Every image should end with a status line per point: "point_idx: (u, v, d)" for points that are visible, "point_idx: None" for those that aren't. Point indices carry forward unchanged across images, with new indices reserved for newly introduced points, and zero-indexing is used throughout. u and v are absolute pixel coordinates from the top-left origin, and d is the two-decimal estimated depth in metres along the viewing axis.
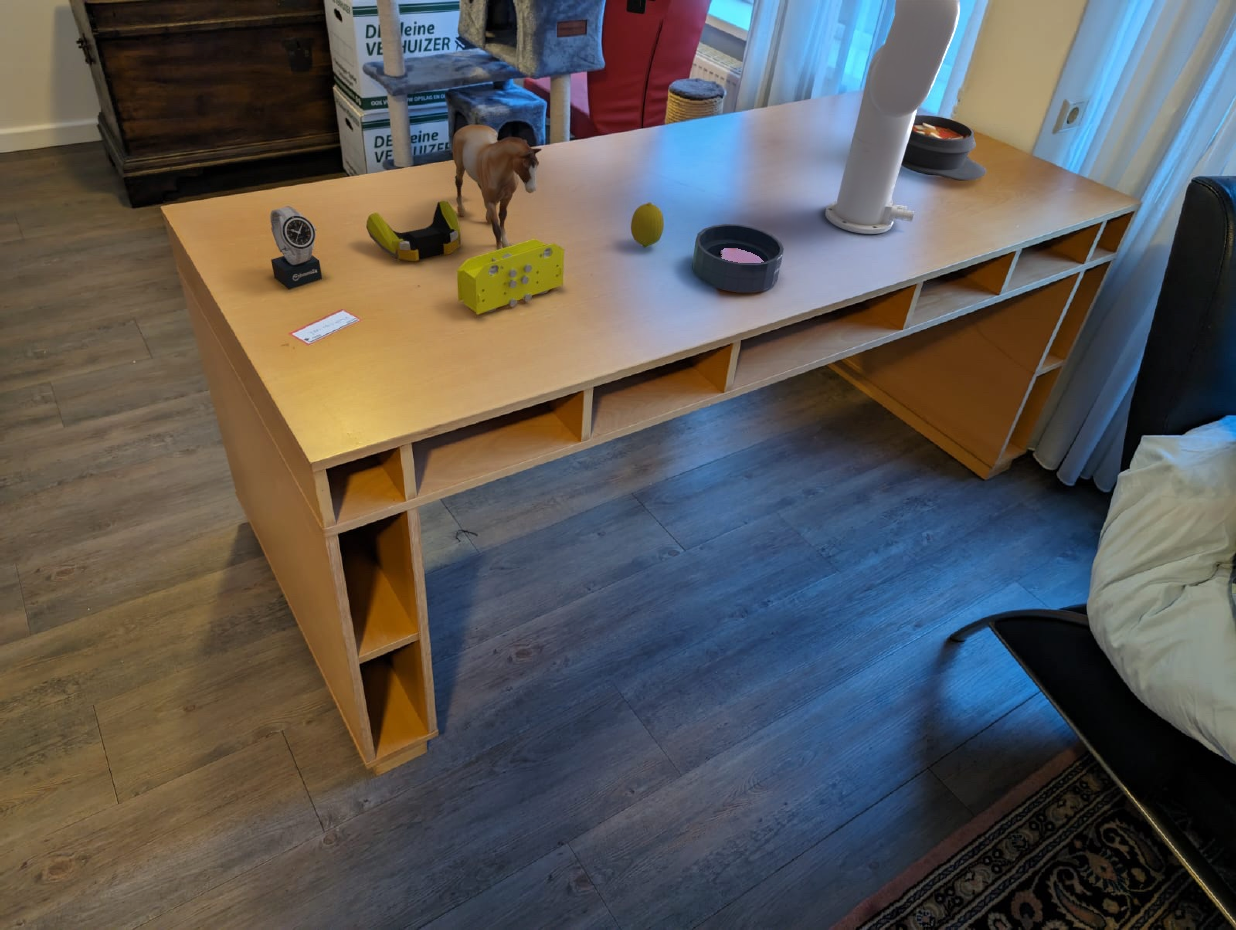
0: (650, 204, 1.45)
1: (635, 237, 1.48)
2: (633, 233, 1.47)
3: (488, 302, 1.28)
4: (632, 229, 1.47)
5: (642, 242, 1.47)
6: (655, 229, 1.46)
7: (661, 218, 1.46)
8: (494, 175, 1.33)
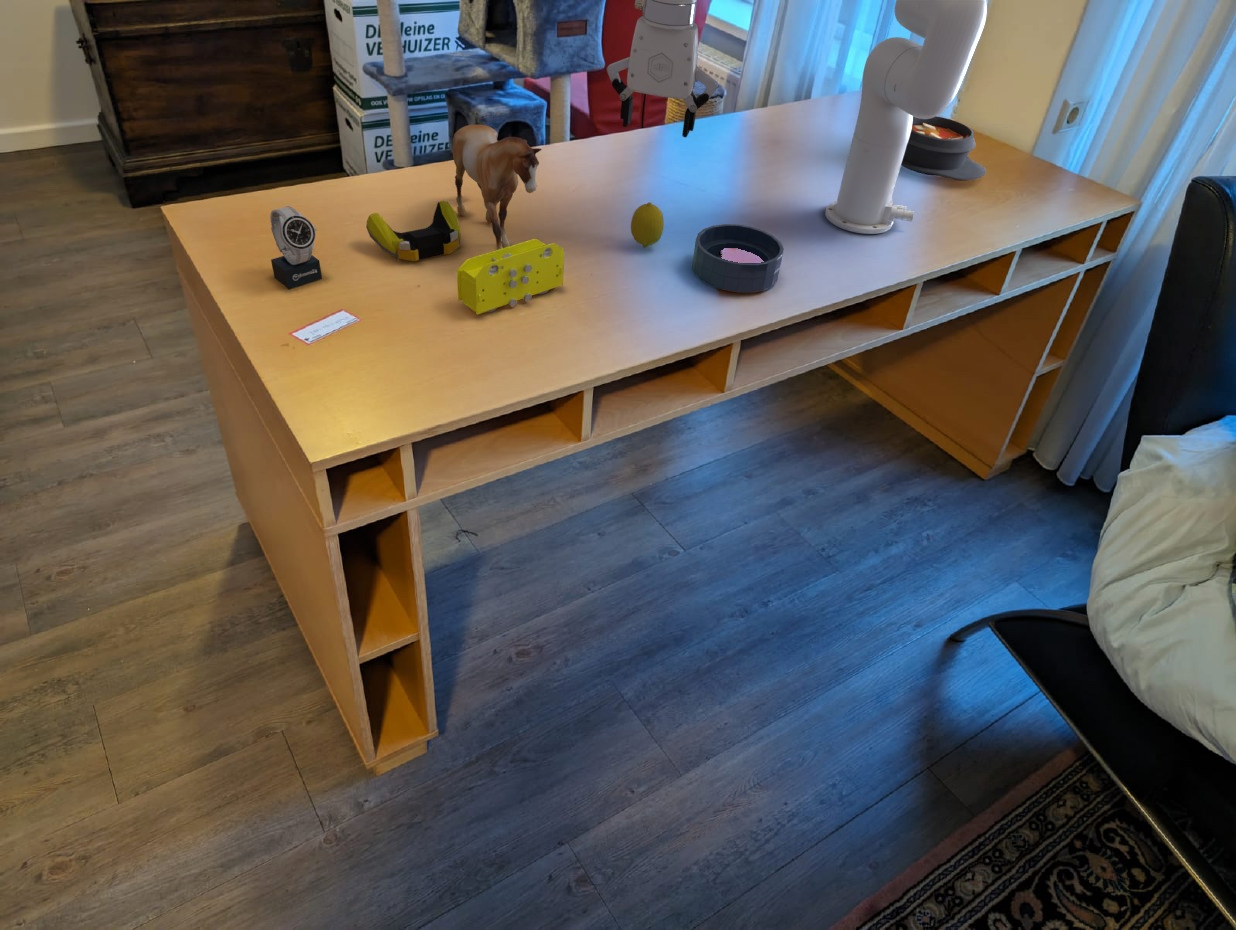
0: (650, 204, 1.45)
1: (635, 237, 1.48)
2: (633, 233, 1.47)
3: (488, 302, 1.28)
4: (632, 229, 1.47)
5: (642, 242, 1.47)
6: (655, 229, 1.46)
7: (661, 218, 1.46)
8: (494, 175, 1.33)
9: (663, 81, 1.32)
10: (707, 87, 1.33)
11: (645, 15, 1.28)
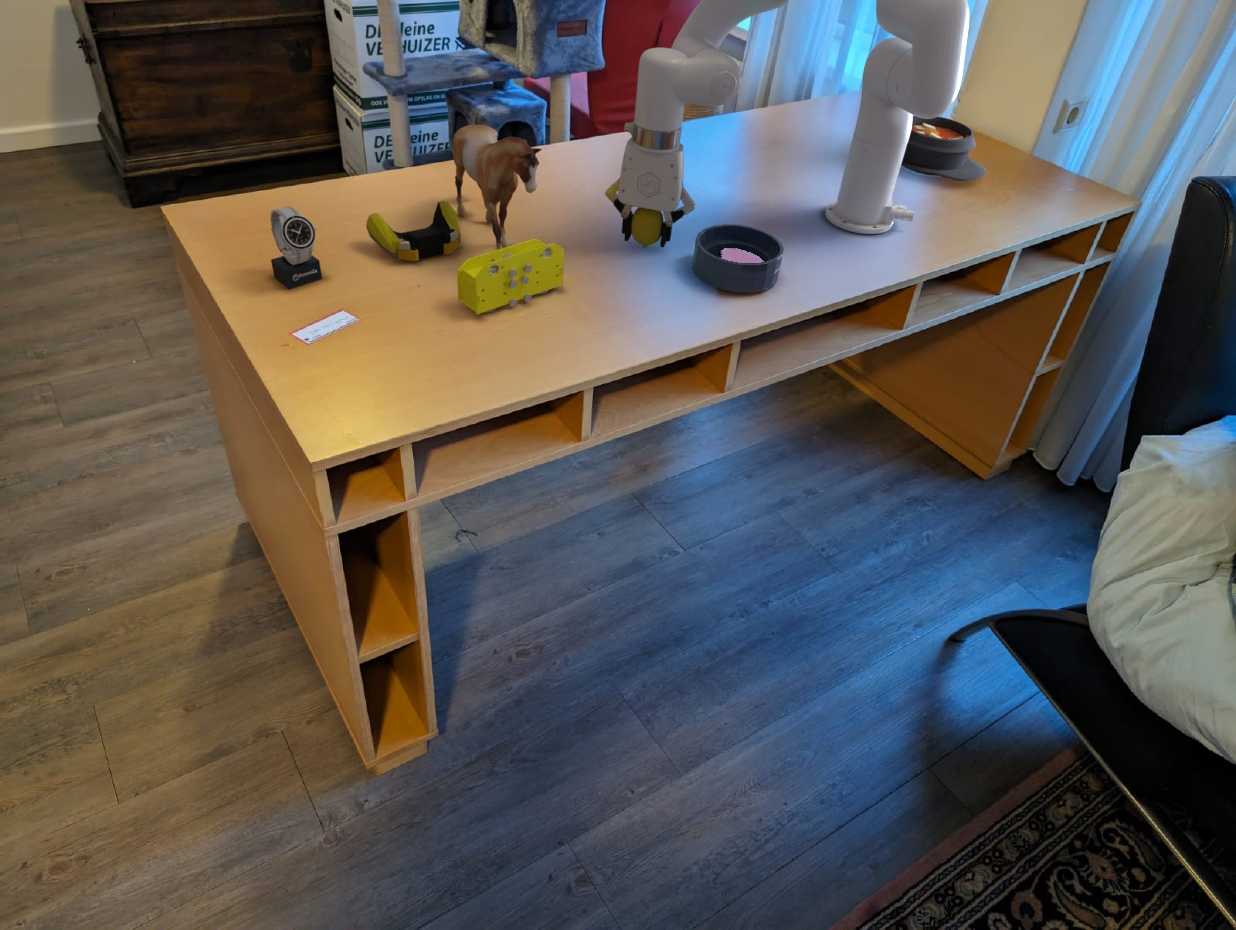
0: None
1: (635, 237, 1.48)
2: (633, 233, 1.47)
3: (488, 302, 1.28)
4: (632, 229, 1.47)
5: (642, 242, 1.47)
6: (655, 229, 1.46)
7: (661, 218, 1.46)
8: (494, 175, 1.33)
9: (652, 196, 1.41)
10: (685, 206, 1.43)
11: (634, 139, 1.37)
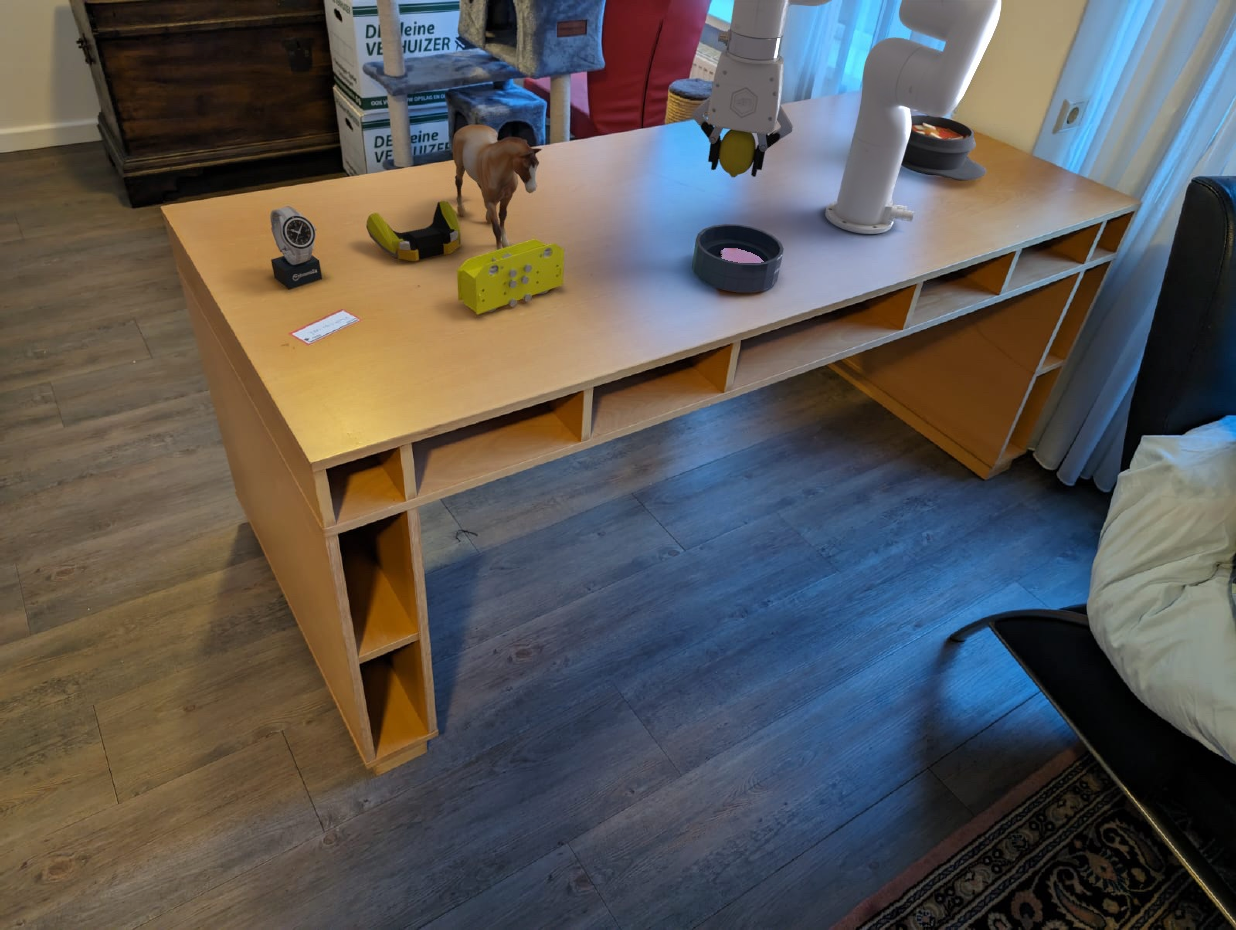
0: None
1: (723, 165, 1.33)
2: (722, 160, 1.33)
3: (488, 302, 1.28)
4: (721, 156, 1.33)
5: (732, 170, 1.33)
6: (747, 155, 1.31)
7: (754, 143, 1.32)
8: (494, 175, 1.33)
9: (746, 116, 1.27)
10: (782, 128, 1.29)
11: (729, 49, 1.23)
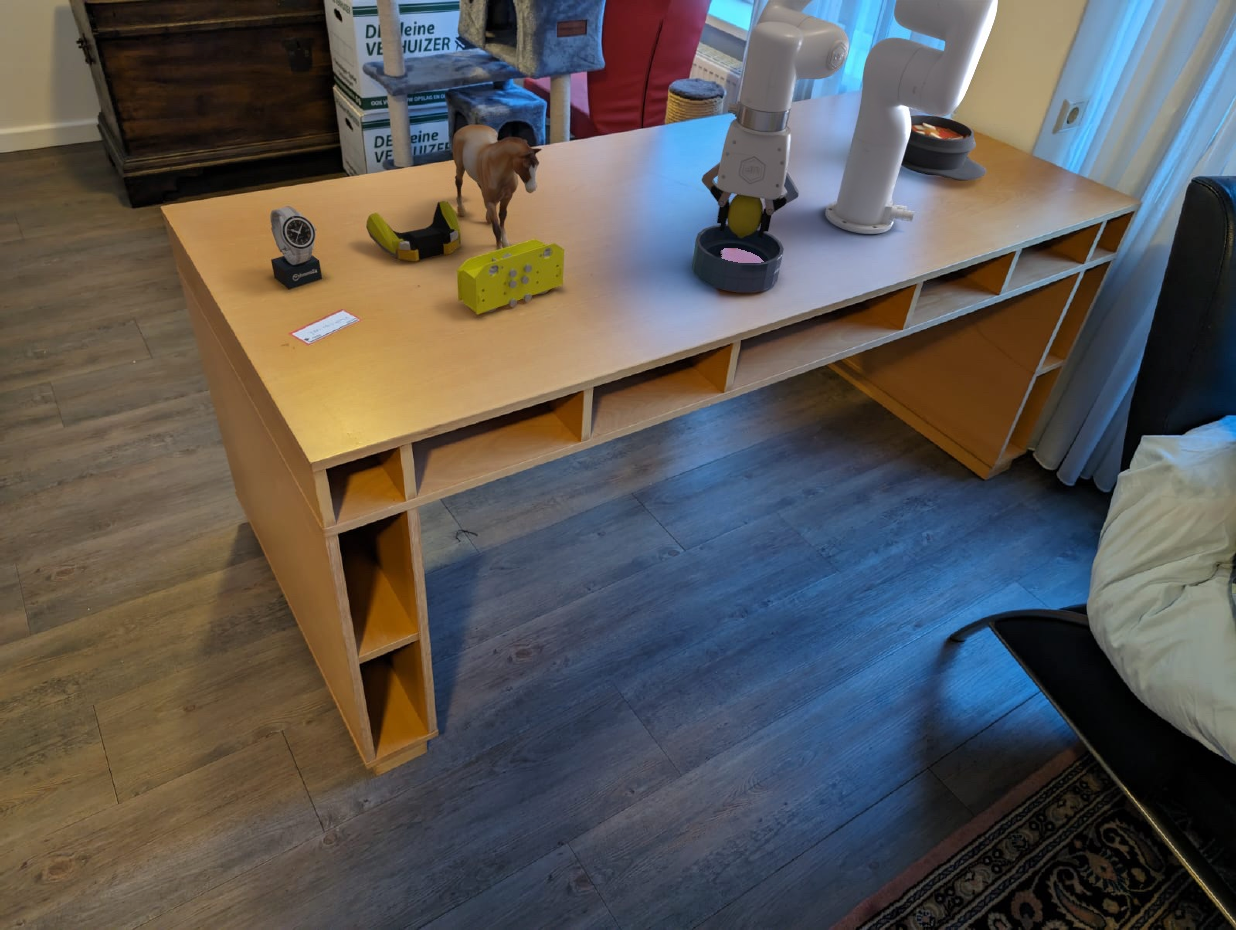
0: None
1: (731, 227, 1.38)
2: (730, 222, 1.38)
3: (488, 302, 1.28)
4: (729, 218, 1.38)
5: (739, 232, 1.38)
6: (754, 218, 1.36)
7: (761, 206, 1.37)
8: (494, 175, 1.33)
9: (754, 183, 1.32)
10: (788, 193, 1.34)
11: (739, 120, 1.28)
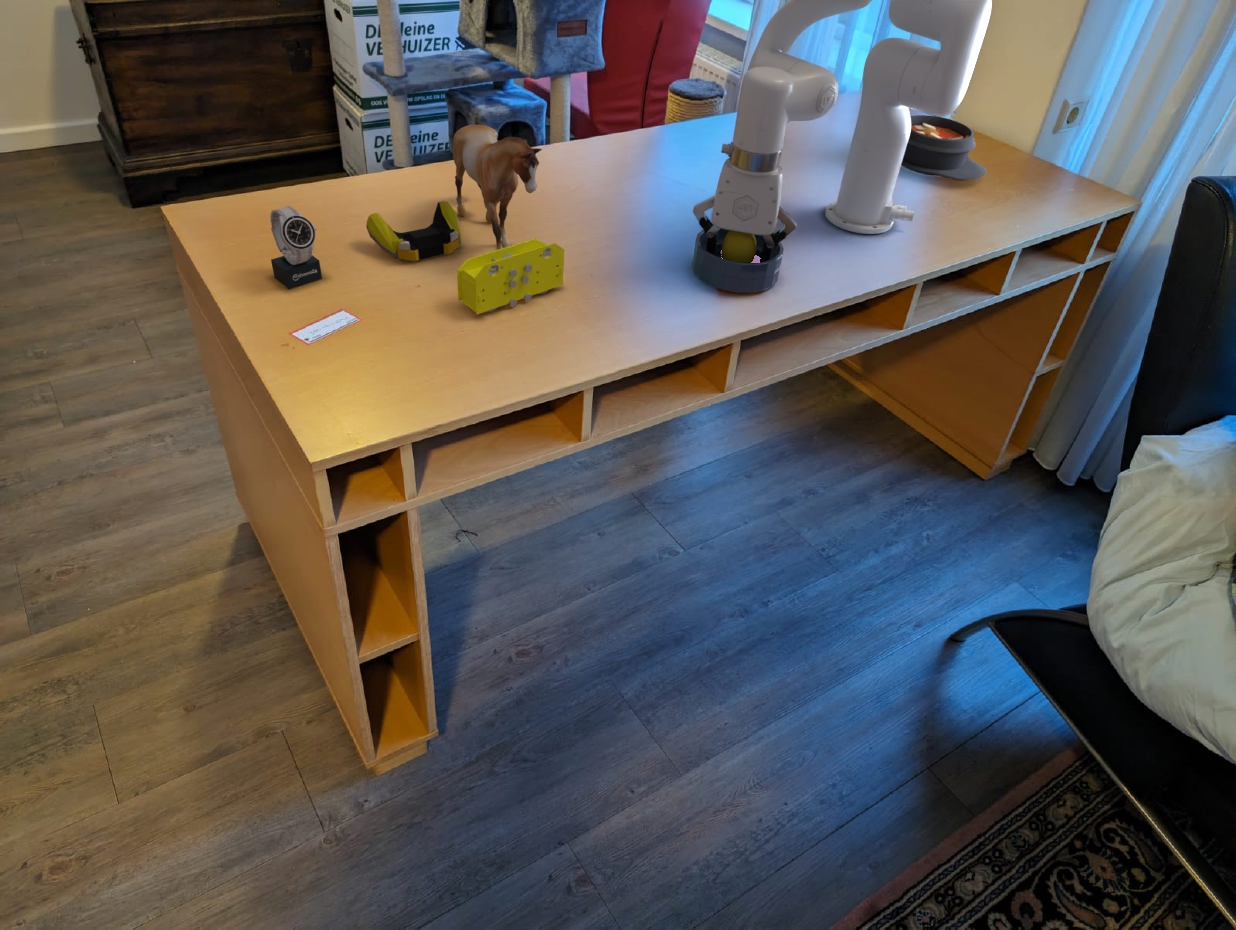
0: None
1: None
2: (724, 257, 1.42)
3: (488, 302, 1.28)
4: (724, 253, 1.42)
5: None
6: (748, 253, 1.40)
7: (754, 241, 1.40)
8: (494, 175, 1.33)
9: (747, 220, 1.36)
10: (786, 226, 1.38)
11: (732, 161, 1.32)
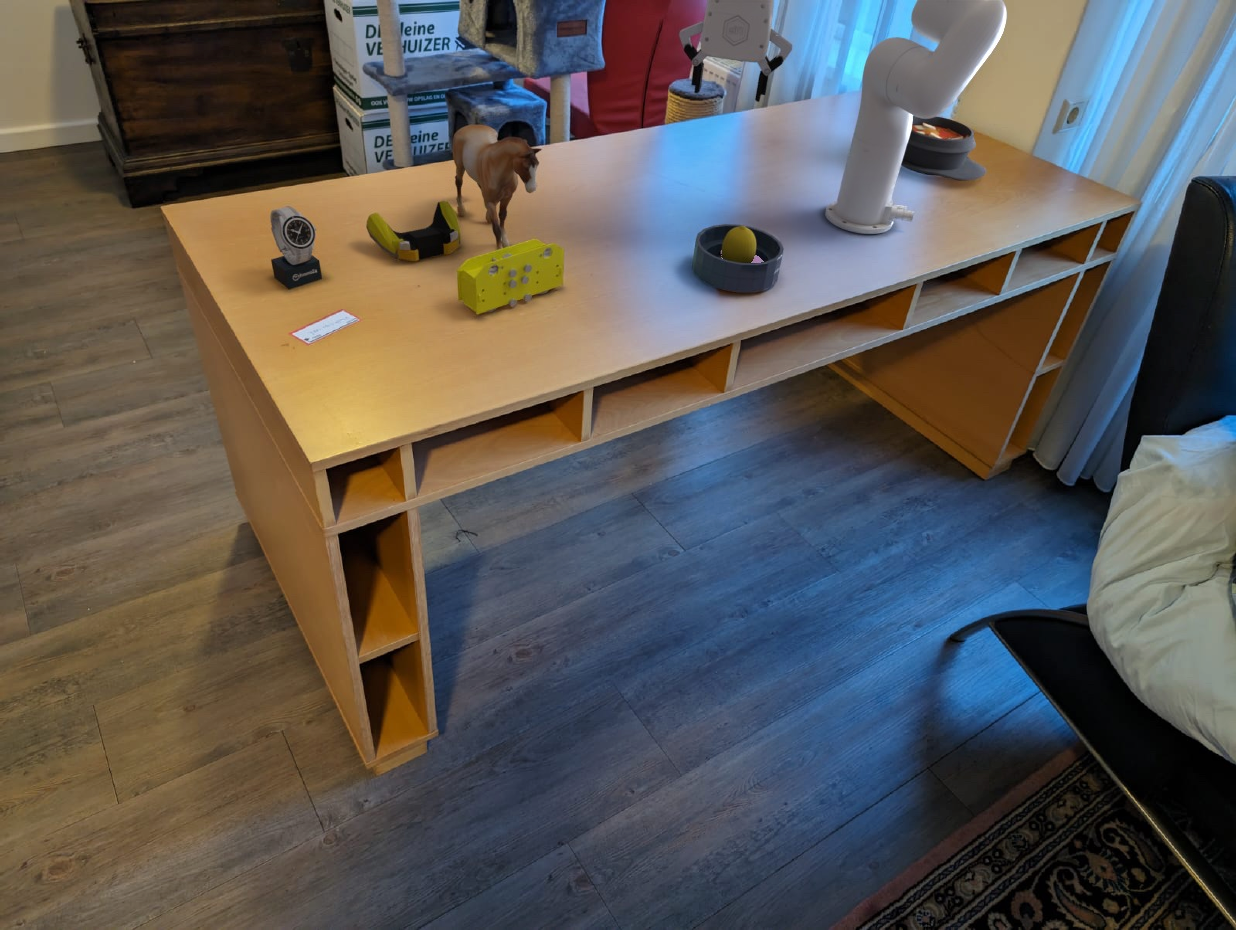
0: (744, 227, 1.40)
1: None
2: (724, 257, 1.42)
3: (488, 302, 1.28)
4: (724, 253, 1.42)
5: None
6: (748, 253, 1.40)
7: (754, 241, 1.40)
8: (494, 175, 1.33)
9: (738, 44, 1.31)
10: (782, 49, 1.32)
11: None
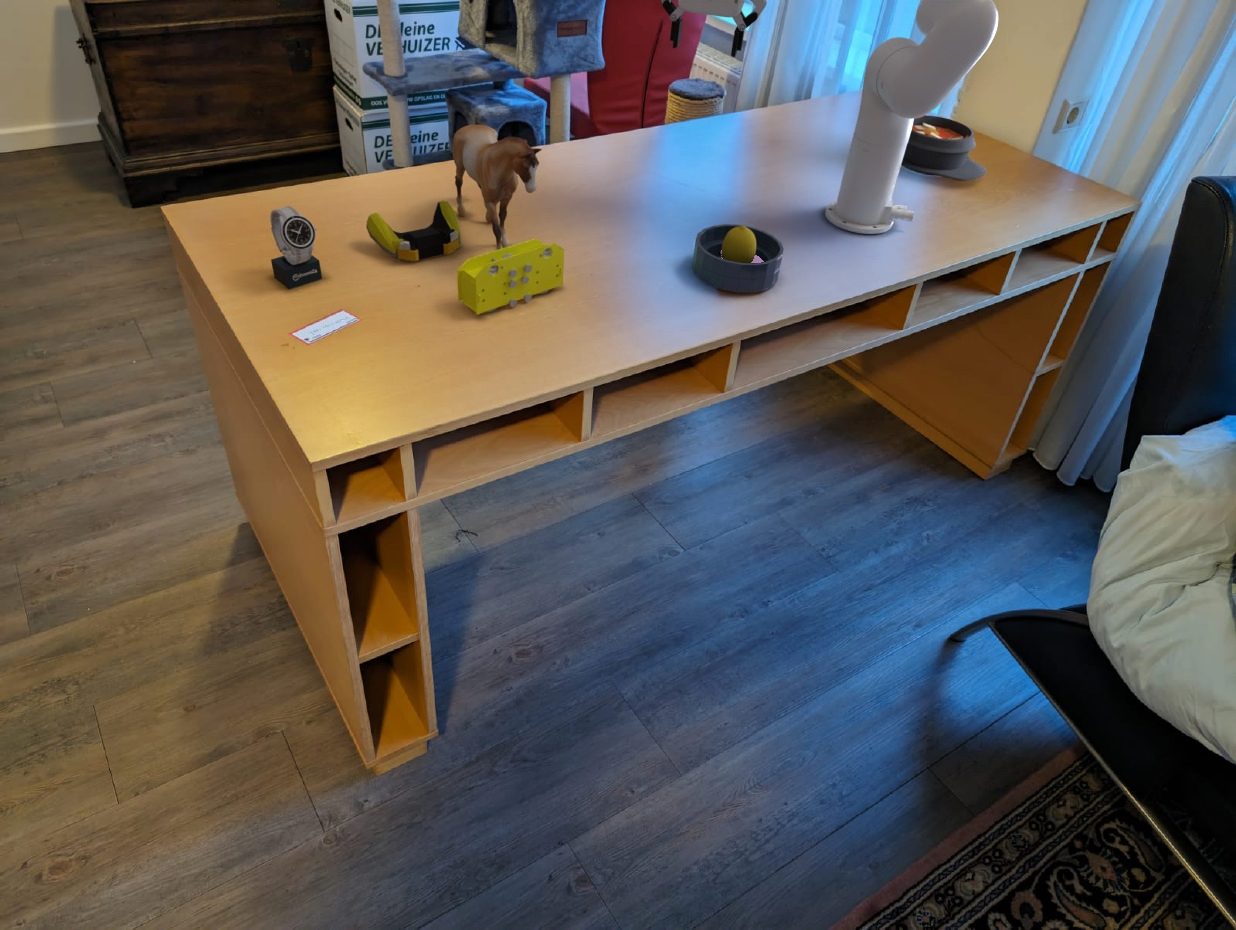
0: (744, 227, 1.40)
1: None
2: (724, 257, 1.42)
3: (488, 302, 1.28)
4: (724, 253, 1.42)
5: None
6: (748, 253, 1.40)
7: (754, 241, 1.40)
8: (494, 175, 1.33)
9: None
10: (756, 5, 1.37)
11: None
